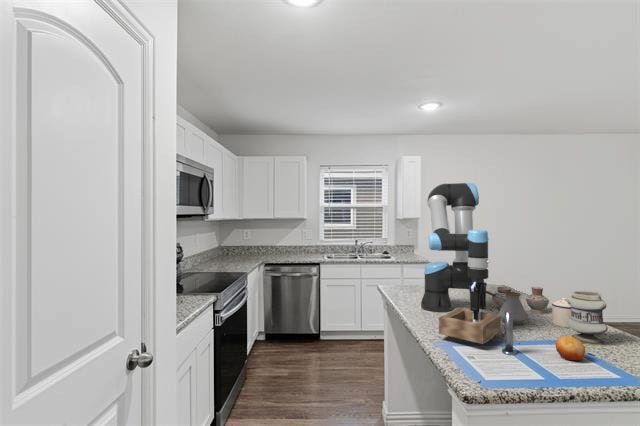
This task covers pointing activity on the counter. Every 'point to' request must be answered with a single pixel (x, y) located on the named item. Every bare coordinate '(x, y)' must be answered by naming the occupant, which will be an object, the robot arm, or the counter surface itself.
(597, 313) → the apothecary jar
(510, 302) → the coffee pot
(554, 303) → the teacup with lid
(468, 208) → the robot arm
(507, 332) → the metal post
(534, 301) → the pottery
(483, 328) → the walnut box
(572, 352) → the fruit
